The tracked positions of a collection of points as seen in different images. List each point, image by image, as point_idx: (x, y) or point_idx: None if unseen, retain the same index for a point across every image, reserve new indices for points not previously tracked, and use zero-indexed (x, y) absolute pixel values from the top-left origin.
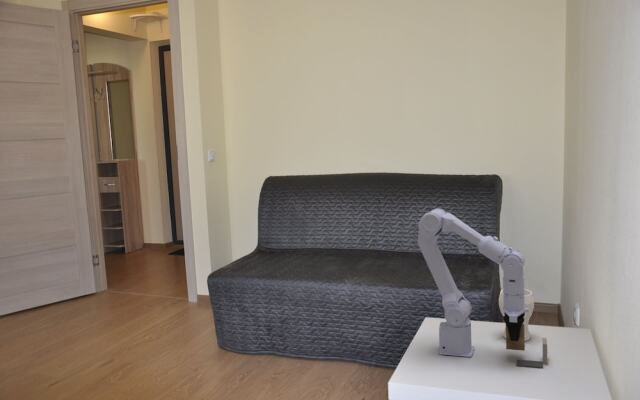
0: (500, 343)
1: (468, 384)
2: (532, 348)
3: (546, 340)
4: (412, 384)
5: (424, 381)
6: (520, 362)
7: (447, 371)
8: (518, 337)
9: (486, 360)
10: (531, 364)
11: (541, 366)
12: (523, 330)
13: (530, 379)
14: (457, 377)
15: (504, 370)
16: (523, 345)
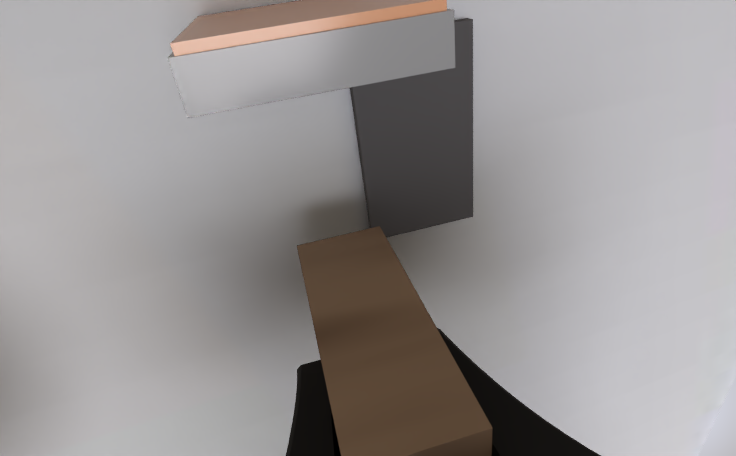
0: (81, 416)
1: (709, 325)
2: (11, 197)
3: (273, 35)
4: (699, 450)
5: (678, 439)
6: (425, 202)
7: (589, 429)
8: (460, 353)
9: None
10: (439, 121)
11: (460, 35)
12: (464, 387)
13: (661, 77)
14: (644, 381)
15: (545, 250)
16: (394, 261)
